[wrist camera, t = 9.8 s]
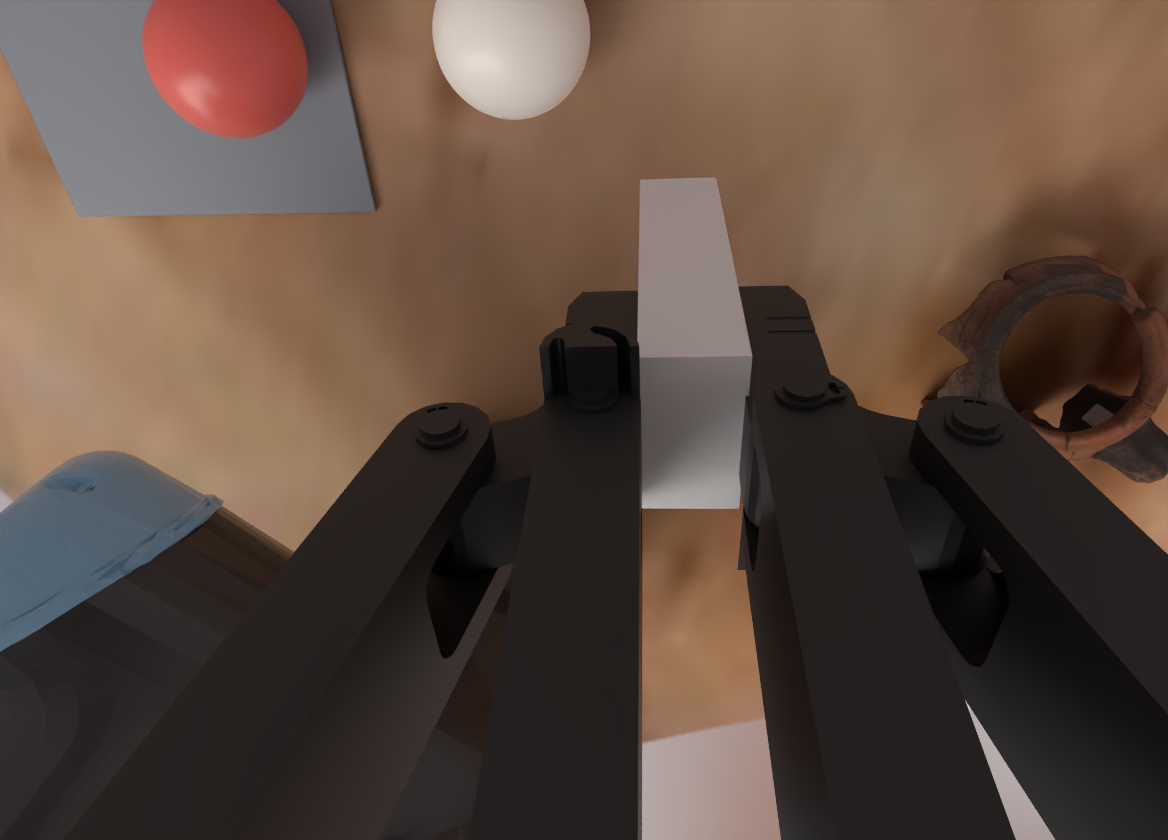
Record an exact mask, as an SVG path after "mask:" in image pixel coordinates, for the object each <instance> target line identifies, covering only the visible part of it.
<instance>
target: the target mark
mask: <svg viewBox="0 0 1168 840" xmlns="http://www.w3.org/2000/svg"><path fill="white" fill-rule="evenodd" d="M153 1H154V0H0V49H1V52H2V54H3V56H4V58H5V60H6V62H7V64H8V67H9V69H10V71H11V73H12V75H13V77H14V79H15V82H16V84H17V86H18V88H19V90H20V92H21V94H22V97H23V99H24V101H25V103H26V105H27V107H28V109H29V112H30V114H31V116H32V118H33V120H34V122H35V124H36V127H37V129H38V131H39V133H40V135H41V137H42V139H43V142H44V144H45V146H46V148H47V150H48V152H49V154H50V157H51V159H52V161H53V163H54V165H55V167H56V169H57V172H58V174H59V176H60V178H61V180H62V182H63V184H64V187H65V189H66V191H67V193H68V195H69V197H70V200H71V202H72V204H73V206H74V208H75V210H76V212H77V215H78V217H87V216H152V215H217V214H282V213H347V212H376V206H375V201H374V197H373V192H372V187H371V183H370V178H369V174H368V169H367V165H366V160H365V155H364V151H363V146H362V142H361V137H360V133H359V128H358V123H357V119H356V114H355V110H354V105H353V101H352V96H351V92H350V87H349V82H348V78H347V73H346V69H345V64H344V60H343V55H342V50H341V46H340V41H339V37H338V32H337V28H336V23H335V18H334V14H333V9H332V5H331V0H277V1H278V2H279V3H280V4H281V5H282V7H283V8H284V9H285V10H286V11H287V12H288V14H289V15H290V16H291V18H292V20H293V21H294V23H295V25H296V26H297V28H298V30H299V32H300V34H301V37H302V39H303V42H304V46H305V49H306V54H307V61H308V79H307V86H306V90H305V93H304V96H303V98H302V101H301V103H300V105H299V107H298V108H297V110H296V111H295V113H294V114H293V115H292V116H291V117H290V118H289V119H288V120H287V121H286V122H285V123H284V124H283V125H281V126H280V127H278V128H277V129H275V130H273V131H271V132H269V133H266V134H264V135H261V136H257V137H251V138H228V137H223V136H218V135H214V134H211V133H209V132H206V131H204V130H201V129H199V128H197V127H196V126H194V125H192V124H191V123H189V122H187V121H186V120H185V119H183V118H182V117H181V116H179V115H178V114H177V113H176V112H175V111H174V110H173V109H172V108H171V107H170V106H169V105H168V104H167V103H166V102H165V100H164V99H163V98H162V96H161V95H160V93H159V92H158V91H157V89H156V88H155V86H154V84H153V82H152V80H151V78H150V76H149V73H148V71H147V68H146V64H145V60H144V56H143V48H142V32H143V26H144V21H145V18H146V15H147V13H148V10H149V8H150V6H151V4H152V3H153Z"/></svg>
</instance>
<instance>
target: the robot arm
mask: <svg viewBox="0 0 1168 840" xmlns="http://www.w3.org/2000/svg"><path fill="white" fill-rule="evenodd" d="M539 349H540V359H541V368H542V377H543V387H544V396H545V399H544V405H543V406H541V407H540V408H539V409H537V410H536V411H534V412H532V413H529V414H527V415H525V416H522V417H519V418H516V419H512V420H508V421H504V422H499V423H495V424H490V422H489V419H488V416H487V415H486V414H485V413H484V412H482V411H481V410H480V409H479V408H477V407H474V406H471V405H467V404H464V403H440V404H435V405H431V406H426V407H424V408H421V409H419V410H417V411H415V412H413V413H411V414H409V415H408V416H407V417H405V418H404V419H403V420H402V421H401V422H400V423H399V424H397V426H396V427H395V428H394V429H393V430H392V432H391V433H390V434H389V435H388V437H387V438H386V439H385V440H384V442H383V443H382V444H381V445H380V447H379V448H378V449H377V450H376V452H375V453H374V454H373V455H372V457H371V458H370V459H369V460H368V462H367V463H366V464H365V465H364V467H363V468H362V469H361V470H360V471H359V473H358V474H357V475H356V476H355V478H354V479H353V480H352V481H351V483H350V484H349V485H348V486H347V488H346V489H345V490H344V491H343V493H342V494H341V495H340V496H339V498H338V499H337V500H336V501H335V503H334V504H333V505H332V506H331V508H330V509H329V510H328V511H327V512H326V514H325V515H324V516H323V517H322V519H321V520H320V521H319V522H318V524H317V525H316V526H315V527H314V529H313V530H312V531H311V532H310V534H309V535H308V536H307V537H306V539H305V540H304V541H303V542H302V544H301V545H300V546H299V547H298V548H297V550H296V551H295V552H293V551H292V550H290V549H289V548H287V547H285V546H284V545H282V544H281V543H279V542H278V541H276V540H274V539H273V538H271V537H270V536H268V535H267V534H265V533H263V532H262V531H260V530H259V529H257V528H256V527H254V526H252V525H251V524H249V523H248V522H246V521H245V520H243V519H241V518H240V517H238V516H237V515H235V514H234V513H232V512H230V511H229V510H227V509H226V508H224V507H223V506H222V504H223V503H224V502H223V500H221V499H220V498H218V497H216V496H215V495H209V494H206V495H203V494H201V493H200V492H198V491H196V490H194V489H193V488H191V487H189V486H187V485H185V484H184V483H182V482H180V481H178V480H177V479H175V478H173V477H171V476H170V475H168V474H166V473H164V472H162V471H161V470H159V469H157V468H155V467H154V466H152V465H150V464H148V463H147V462H145V461H143V460H141V459H139V458H137V457H135V456H133V455H130V454H127V453H123V452H118V451H94V452H90V453H86V454H82V455H79V456H76V457H74V458H72V459H70V460H68V461H66V462H65V463H63V464H62V465H60V466H59V467H57V468H56V469H55V470H53V471H52V472H51V473H49V474H48V475H47V476H45V477H44V478H43V479H41V480H40V481H39V482H38V483H36V484H35V485H34V486H33V487H31V488H30V489H29V490H28V491H26V492H25V493H24V494H23V495H21V496H20V497H19V498H18V499H16V500H15V501H14V502H13V503H12V504H10V505H9V506H8V507H7V508H6V509H4V510H3V511H2V512H1V513H0V840H642V508H653V509H739V502H740V491H741V493H742V500H743V518H742V529H741V540H740V551H739V562H738V570H745V569H746V575H747V583H748V590H749V598H750V606H751V613H752V621H753V628H754V636H755V644H756V651H757V659H758V666H759V674H760V682H761V689H762V697H763V705H764V712H765V720H766V727H767V735H768V743H769V750H770V757H771V765H772V773H773V780H774V788H775V795H776V804H777V811H778V818H779V826H780V834H781V840H1016V839H1015V836H1014V834H1013V831H1012V828H1011V826H1010V823H1009V820H1008V817H1007V814H1006V812H1005V809H1004V806H1003V804H1002V801H1001V798H1000V795H999V792H998V790H997V787H996V784H995V782H994V779H993V776H992V773H991V770H990V768H989V765H988V762H987V759H986V757H985V754H984V751H983V749H982V746H981V743H980V740H979V737H978V735H977V732H976V729H975V726H974V724H973V721H972V718H971V715H970V713H969V710H968V707H967V704H966V702H967V703H968V705H969V706H970V708H971V709H972V711H973V712H974V714H975V715H976V717H977V719H978V720H979V722H980V723H981V725H982V726H983V728H984V729H985V730H986V733H987V734H988V736H989V737H990V739H991V740H992V742H993V743H994V745H995V746H996V748H997V750H998V751H999V753H1000V754H1001V756H1002V757H1003V759H1004V760H1005V762H1006V763H1007V765H1008V767H1009V768H1010V770H1011V771H1012V772H1013V774H1014V776H1015V777H1016V779H1017V780H1018V782H1019V784H1020V785H1021V787H1022V788H1023V790H1024V791H1025V793H1026V794H1027V796H1028V798H1029V799H1030V801H1031V802H1032V804H1033V805H1034V807H1035V809H1036V810H1037V811H1038V813H1039V815H1040V816H1041V818H1042V819H1043V821H1044V822H1045V824H1046V826H1047V827H1048V829H1049V830H1050V832H1051V833H1052V835H1053V836H1054V838H1055V840H1168V554H1167V553H1166V552H1164V551H1163V550H1162V549H1161V548H1160V547H1159V546H1158V545H1157V544H1156V543H1155V542H1154V541H1153V540H1152V539H1151V538H1150V537H1148V536H1147V535H1146V534H1145V533H1144V532H1143V531H1142V530H1141V529H1140V528H1139V527H1138V526H1137V525H1136V524H1135V523H1134V522H1133V521H1131V520H1130V519H1129V518H1128V517H1127V516H1126V515H1125V514H1124V513H1123V512H1122V511H1121V510H1120V509H1119V508H1118V507H1117V506H1116V505H1114V504H1113V503H1112V502H1111V501H1110V500H1109V499H1108V498H1107V497H1106V496H1105V495H1104V494H1103V493H1102V492H1101V491H1100V490H1098V489H1097V488H1096V487H1095V486H1094V485H1093V484H1092V483H1091V482H1090V481H1089V480H1088V479H1087V478H1086V477H1085V476H1084V475H1083V474H1081V473H1080V472H1079V471H1078V470H1077V469H1076V468H1075V467H1074V466H1073V465H1072V464H1071V463H1070V462H1069V461H1068V460H1067V459H1066V458H1064V457H1063V456H1062V455H1061V454H1060V453H1059V452H1058V451H1057V450H1056V449H1055V448H1054V447H1053V446H1052V445H1051V444H1050V443H1048V442H1047V441H1046V440H1045V439H1044V438H1043V437H1042V436H1041V435H1040V434H1039V433H1038V432H1037V431H1036V430H1035V429H1034V428H1033V427H1031V426H1030V425H1029V424H1028V423H1027V422H1026V421H1025V420H1024V419H1023V418H1022V417H1020V416H1019V415H1017V414H1016V413H1014V412H1013V411H1012V410H1010V409H1009V408H1007V407H1005V406H1003V405H1000V404H997V403H995V402H992V401H990V400H987V399H983V398H978V397H977V398H976V397H972V396H944V397H941V398H938V399H934V400H931V401H929V402H928V403H926V404H925V405H924V406H923V407H922V408H921V409H920V410H919V413H918V417H917V421H915V420H910V419H905V418H900V417H894V416H889V415H884V414H881V413H877V412H873V411H870V410H867V409H865V408H862V407H860V406H858V405H857V402H856V399H855V397H854V394H853V393H852V391H851V390H850V389H849V387H848V386H847V385H846V384H845V383H844V382H842V381H840V380H839V379H837V378H836V377H834V376H833V375H830V372H829V369H828V366H827V363H826V360H825V357H824V354H823V351H822V348H821V345H820V342H819V340H818V337H817V334H815V328H814V325H813V322H812V320H811V316H810V313H809V310H808V307H807V304H806V301H805V299H803V298H802V297H801V296H800V295H798V294H797V293H796V292H795V291H794V290H792V289H791V288H790V287H789V286H746V287H738V283H737V278H736V273H735V268H734V263H733V258H732V253H731V248H730V243H729V238H728V234H727V229H726V224H725V219H724V214H723V209H722V204H721V199H720V194H719V189H718V184H717V179H716V177H707V178H677V179H646V180H640V213H639V272H638V291H607V292H582V293H581V294H580V295H579V296H578V297H577V298H576V299H575V300H574V301H573V302H572V303H571V304H570V305H569V307H568V312H567V318H566V326H565V327H562V328H559V329H556V330H555V331H554V332H552V333H551V334H549V335H548V336H546V337H545V338H544V340H543V342H542V344H541V345H540V347H539ZM964 698H965V699H964ZM965 700H966V702H965Z"/></svg>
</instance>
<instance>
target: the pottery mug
mask: <svg viewBox="0 0 1168 840" xmlns="http://www.w3.org/2000/svg"><path fill="white" fill-rule="evenodd" d="M1077 292H1082V293H1090V294H1095V295H1099V296H1102V297H1104V298H1107V299H1110V300H1115V301H1116V302H1118V303H1119V304H1120V305H1121V306H1122V307H1124V309H1125V310H1126V311H1127V312H1128V313H1129V314H1130V317H1131V319H1132V322H1133V323H1134V325H1135V327H1136V329H1137V331H1138V334H1139V337H1140V340H1141V345H1142V352H1143V363H1142V371H1141V374H1140V378H1139V381H1138V384H1137V386H1136V388H1135V390H1134V392H1133V394H1132V396H1119V395H1117V394H1114V393H1112V392H1110V391H1108V390H1106V389H1100V388H1098V387H1097V386H1096V385H1094V384H1087V385H1086V386H1084V387H1083V388H1082V389H1081V390H1080V391H1079V392H1078V393H1077V394H1076V395H1075V396H1074V397H1072V398H1071V399H1069V400H1068V401H1067V402H1065V403H1064V405H1063V413H1062V417H1061V421H1060V427H1059V428H1055V427H1053V426H1052V425H1051V424H1049V423H1048V422H1047V421H1046V420H1043V419H1040V418H1038V416H1037V415H1036V414H1035V413H1034V412H1033V411H1032V410H1030V409H1025V410H1024V411H1022V412H1020V413H1018V412H1017V411H1016V410H1015V409H1014V408H1013V406H1012V405H1011V404H1010V402H1009V401H1008V399H1007V397H1006V395H1005V392H1004V389H1003V385H1002V382H1001V377H1000V353H1001V351H1002V349H1003V345H1004V343H1005V340H1006V339H1007V337H1008V335H1009V333H1010V332H1011V330H1012V328H1013V327H1014V325H1015V324H1016V323H1017V321H1018V320H1019V319H1020V318H1021V317H1022V315H1023V314H1024V313H1026V312H1027V311H1028V310H1030V309H1031V308H1032V307H1034V306H1035V305H1037V304H1039V303H1041V302H1042V301H1044V300H1046V299H1050V298H1052V297H1055V296H1058V295H1062V294H1067V293H1077ZM938 334H939V335H941V336H944V337H945V338H946V339H947V340H948V341H950V342H951V343H952V344H953V345H954V346H955V347H957V348H958V349H959V350H960V351H961V352H962V353H963V354H964V355H965V356H966V357H967V358H968V360H969V361H968V363H967V364H965V365H963V366H960V367H958V368H956V369H955V370H954V371H953V373H952V374H951V375H950V376H949V378H948V380H947V382H946V385H945V386H944V387H943V388H941V389H940V390H939V391H938V394H937V397H938V398H941V397H944V396H972V397H976V398H977V397H978V398H983V399H987V400H990V401H992V402H995V403H997V404H1000V405H1003V406H1005V407H1007V408H1009V409H1010V410H1012V411H1013V412H1014V413H1016V414H1017V415H1019V416H1020V417H1022V418H1023V419H1024V420H1025V421H1026V422H1027V423H1028V424H1029V425H1030V426H1031V427H1033V428H1034V429H1035V430H1036V431H1037V432H1038V433H1039V434H1040V435H1041V436H1042V437H1043V438H1044V439H1045V440H1046V441H1047V442H1048V443H1050V444H1051V445H1052V446H1053V447H1054V448H1055V449H1056V450H1057V451H1058V452H1059V453H1060V454H1061V455H1062V456H1063V457H1064V458H1066V459H1067V460H1068V461H1070V460H1080V459H1083V458H1089V457H1091V458H1094V459H1098V460H1101V461H1104V462H1106V463H1109V464H1110V465H1111V466H1113V467H1114V468H1116V469H1117V470H1118V471H1120V472H1121V473H1123V474H1124V475H1126V476H1127V477H1128V478H1130V479H1131V480H1133V481H1135V482H1144V483H1152V482H1154V481H1157V480H1160V479H1163V478H1164V477H1165V476H1166V475H1167V473H1168V436H1167V435H1166V434H1165V433H1164V432H1163V431H1162V430H1161V429H1160V428H1158V427H1157V426H1156V425H1155V424H1154V422H1153V421H1152V419H1151V416H1152V415H1153V413H1154V412H1155V411H1156V409H1157V407H1158V405H1159V404H1160V403H1161V401H1162V398H1163V396H1164V394H1165V393H1166V391H1167V386H1168V325H1167V323H1166V320H1165V318H1164V317H1163V315H1162V313H1161V312H1160V311H1159V309H1158V308H1147V307H1146V306H1145V304H1144V302H1143V301H1142V300H1141V299H1140V298H1139V297H1138V296H1137V293H1136V291H1135V290H1134V289H1133V286H1132V285H1131V284H1130V283H1129V282H1128V281H1127V280H1126V279H1125V278H1124V277H1122V276H1121V275H1120V274H1119V273H1117V272H1116V271H1114V270H1113V269H1111V268H1110V267H1108V266H1106V265H1104V264H1101V263H1097V262H1095V261H1094V260H1093V259H1091V258H1088V257H1085V256H1062V257H1053V258H1045V259H1040V260H1036V261H1032V262H1029V263H1026V264H1023V265H1020V266H1017V267H1013V268H1011V269H1009V270H1007V271H1006V272H1005V273H1004V276H1003V280H1001V281H1000V280H998V281H993V282H991V283H989V284H988V285H987V286H986V287H985V288H984V289H983V290H982V291H981V292H980V294H979V295H978V297H977V298H976V299H975V301H973V303H972V304H971V305H970V307H969V308H968V309H966V310H965V311H964V312H963V313H962V314H961V315H960V316H958V317H957V318H956V319H955V320H953V321H951V322H949V323H947V324H946V325H945V326H943V327H942V328H941V329H940V330H939V331H938ZM928 402H929V400H927V399H924V400H923V401H921V406H922V407H923V406H924V405H925V404H926V403H928Z"/></svg>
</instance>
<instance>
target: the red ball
mask: <svg viewBox="0 0 1168 840" xmlns="http://www.w3.org/2000/svg"><path fill="white" fill-rule="evenodd" d="M142 48H143V56H144V60H145V64H146V68H147V71H148V73H149V76H150V78H151V80H152V82H153V84H154V86H155V88H156V89H157V91H158V92H159V93H160V95H161V96H162V98H163V99H164V100H165V102H166V103H167V104H168V105H169V106H170V107H171V108H172V109H173V110H174V111H175V112H176V113H177V114H178V115H179V116H181V117H182V118H183V119H185V120H186V121H187V122H189V123H191V124H192V125H194V126H196V127H197V128H199V129H201V130H204V131H206V132H209V133H211V134H214V135H218V136H223V137H228V138H251V137H257V136H261V135H264V134H266V133H269V132H271V131H273V130H275V129H277V128H278V127H280V126H281V125H283V124H284V123H285V122H286V121H287V120H288V119H289V118H290V117H291V116H292V115H293V114H294V113H295V111H296V110H297V108H298V107H299V105H300V103H301V101H302V98H303V96H304V93H305V90H306V86H307V79H308V61H307V54H306V49H305V46H304V42H303V39H302V37H301V34H300V32H299V30H298V28H297V26H296V25H295V23H294V21H293V20H292V18H291V16H290V15H289V14H288V12H287V11H286V10H285V9H284V8H283V7H282V5H281V4H280V3H279V2H278V1H277V0H154V1H153V3H152V4H151V6H150V8H149V10H148V13H147V15H146V18H145V21H144V26H143V32H142Z"/></svg>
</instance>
